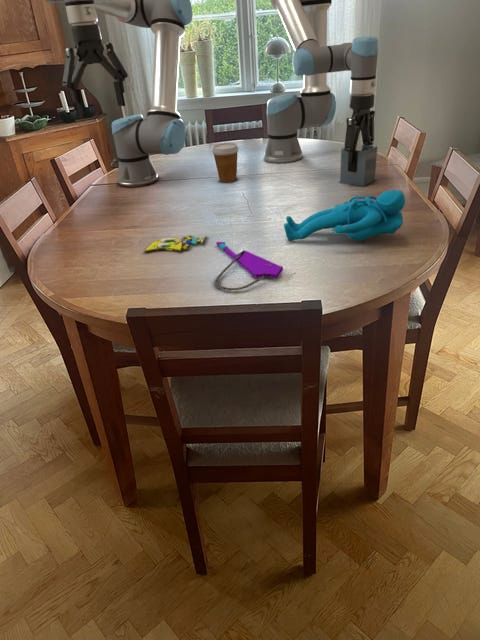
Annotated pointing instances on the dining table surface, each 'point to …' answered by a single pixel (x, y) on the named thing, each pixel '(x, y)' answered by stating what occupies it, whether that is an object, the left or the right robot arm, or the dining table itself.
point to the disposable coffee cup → (226, 161)
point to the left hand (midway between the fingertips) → (102, 110)
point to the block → (359, 166)
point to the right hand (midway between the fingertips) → (358, 168)
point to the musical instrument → (250, 266)
